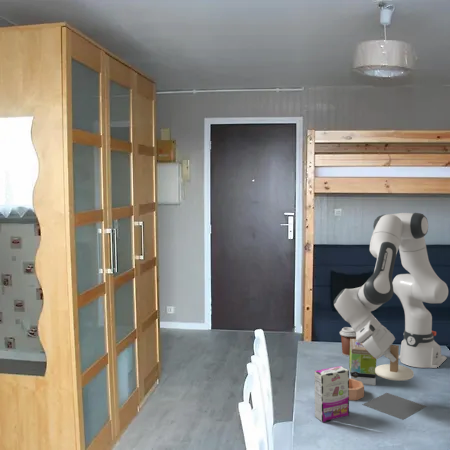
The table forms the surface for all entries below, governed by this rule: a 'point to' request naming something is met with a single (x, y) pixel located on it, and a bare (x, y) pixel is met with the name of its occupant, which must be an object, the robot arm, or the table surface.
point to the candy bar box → (331, 393)
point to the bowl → (355, 389)
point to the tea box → (361, 364)
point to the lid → (394, 368)
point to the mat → (394, 406)
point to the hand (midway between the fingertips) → (396, 359)
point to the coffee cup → (347, 339)
